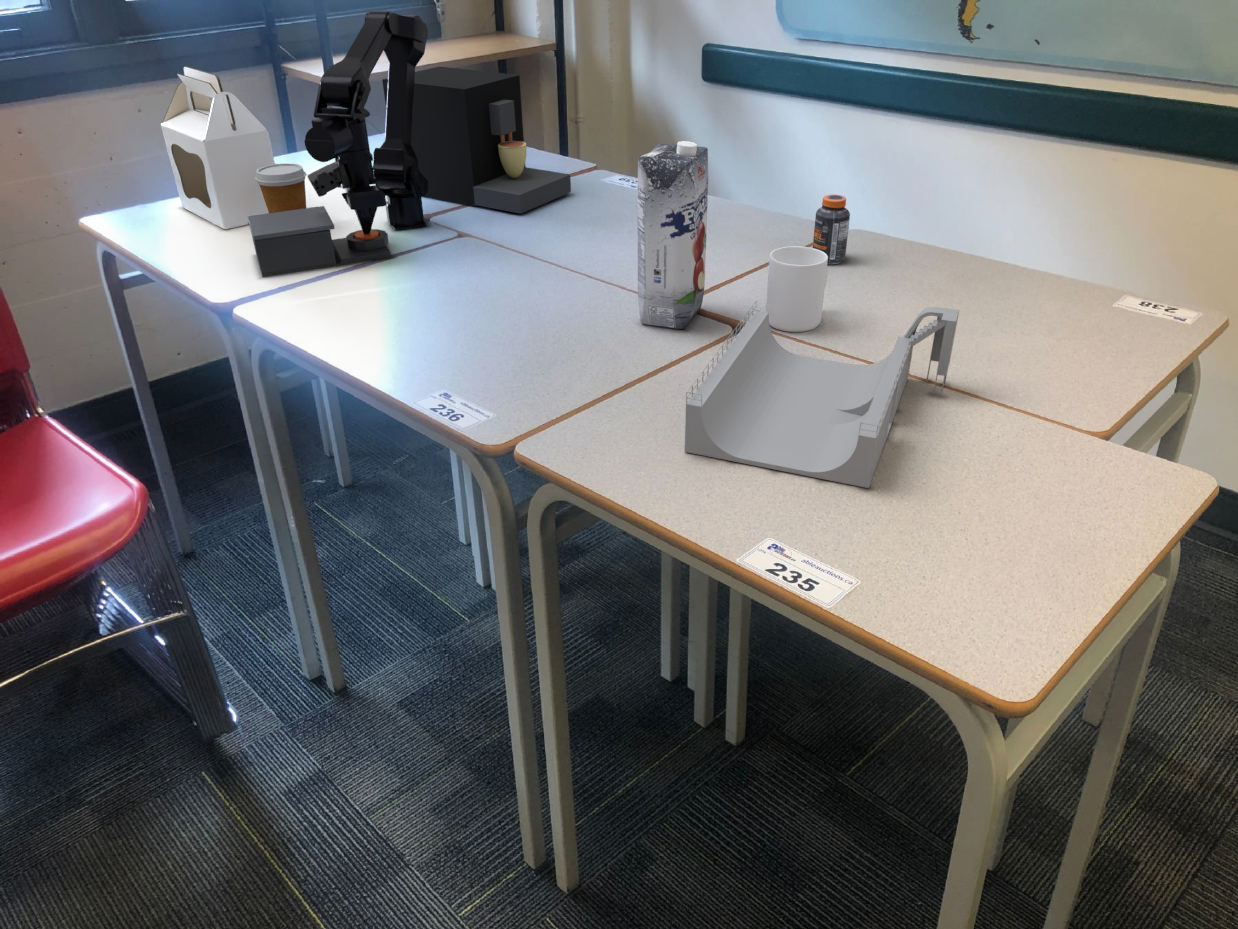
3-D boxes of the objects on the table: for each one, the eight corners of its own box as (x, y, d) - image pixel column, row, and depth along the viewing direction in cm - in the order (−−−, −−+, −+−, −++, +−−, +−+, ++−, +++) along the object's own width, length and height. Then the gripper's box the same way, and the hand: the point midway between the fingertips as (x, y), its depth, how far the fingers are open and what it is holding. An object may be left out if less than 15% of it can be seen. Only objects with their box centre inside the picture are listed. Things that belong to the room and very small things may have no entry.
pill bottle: (805, 256, 173) (811, 193, 167) (834, 252, 175) (841, 190, 169) (821, 266, 168) (827, 203, 162) (851, 262, 170) (858, 199, 164)
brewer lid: (324, 209, 179) (323, 205, 178) (334, 228, 169) (333, 224, 168) (248, 220, 174) (247, 215, 174) (254, 240, 164) (253, 235, 164)
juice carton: (632, 326, 147) (631, 147, 133) (655, 301, 156) (656, 131, 142) (687, 334, 145) (692, 152, 130) (707, 308, 153) (714, 135, 139)
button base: (382, 238, 185) (380, 223, 184) (394, 257, 176) (392, 242, 174) (332, 245, 182) (329, 230, 181) (341, 265, 173) (339, 249, 171)
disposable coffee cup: (308, 237, 187) (296, 175, 180) (260, 237, 187) (246, 175, 181) (321, 222, 195) (311, 162, 188) (275, 222, 195) (263, 162, 189)
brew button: (377, 237, 181) (376, 228, 180) (381, 244, 177) (380, 235, 177) (354, 240, 179) (352, 231, 179) (358, 247, 176) (356, 238, 175)
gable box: (181, 207, 205) (145, 68, 190) (240, 194, 212) (209, 60, 198) (225, 230, 191) (189, 82, 176) (286, 215, 199) (257, 72, 184)
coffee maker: (520, 216, 196) (512, 95, 183) (397, 191, 212) (381, 79, 200) (571, 194, 209) (566, 79, 196) (450, 173, 225) (439, 66, 213)
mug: (845, 316, 149) (853, 250, 144) (796, 338, 143) (803, 269, 137) (802, 301, 155) (808, 237, 149) (753, 321, 148) (757, 255, 143)
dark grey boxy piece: (326, 246, 182) (320, 211, 178) (336, 266, 172) (330, 230, 169) (256, 255, 178) (248, 220, 174) (262, 277, 168) (254, 240, 165)
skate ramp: (752, 353, 139) (757, 282, 133) (945, 383, 129) (959, 309, 124) (684, 452, 115) (686, 372, 109) (914, 498, 106) (929, 413, 100)
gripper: (299, 141, 174) (315, 225, 182) (313, 165, 159) (330, 255, 168) (361, 134, 178) (374, 217, 186) (380, 157, 163) (393, 246, 171)
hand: (366, 233), depth 178 cm, fingers closed, pressing on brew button
